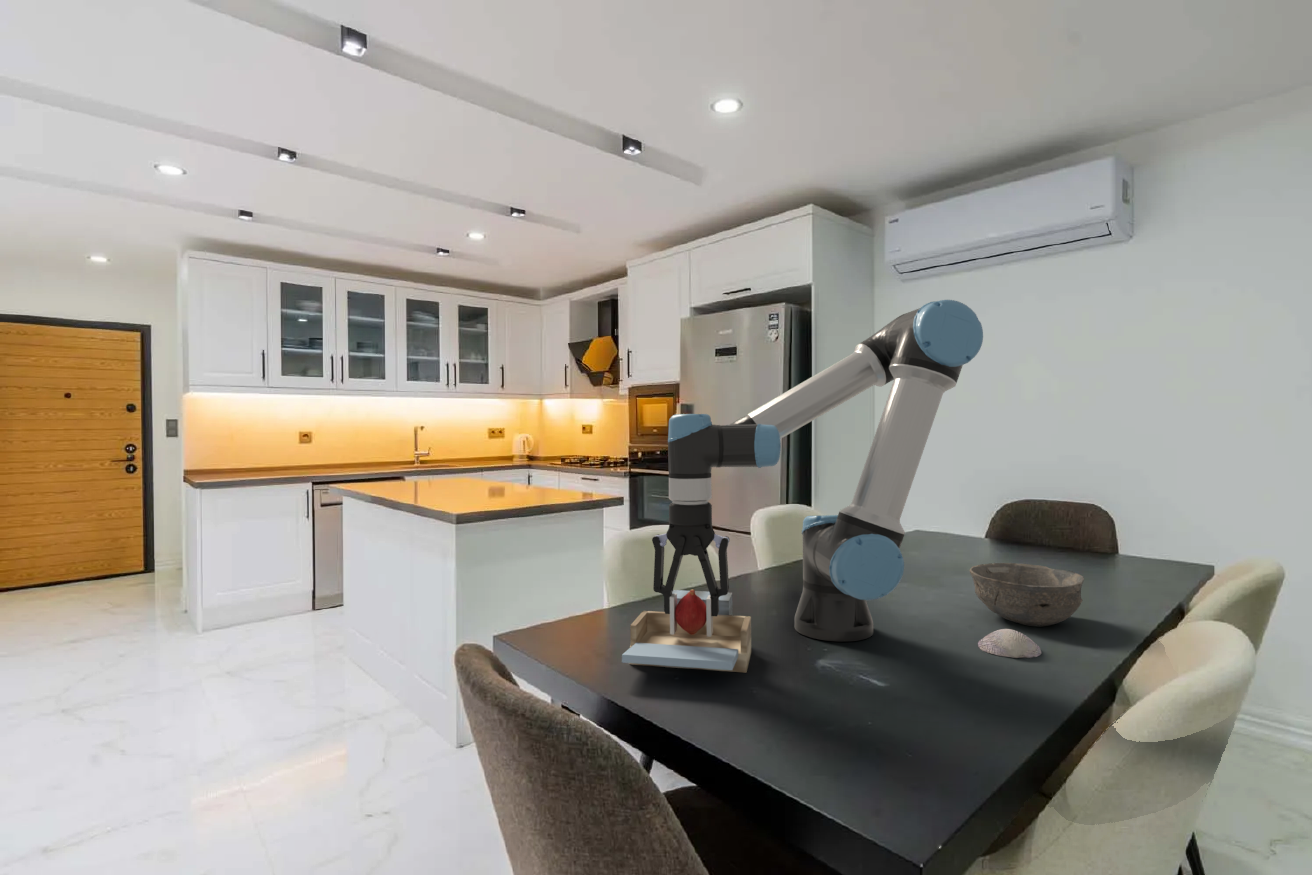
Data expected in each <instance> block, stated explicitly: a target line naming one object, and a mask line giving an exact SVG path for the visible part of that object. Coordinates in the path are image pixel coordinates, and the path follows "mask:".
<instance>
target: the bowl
mask: <svg viewBox="0 0 1312 875" xmlns="http://www.w3.org/2000/svg"><path fill="white" fill-rule="evenodd" d="M969 574H970V576H971V577H972V580H973V585H974V592H975V594H976V597H977V598H978V599H979V600H980V601H981V602H982V604H984V605H985V606H986V608H987V609H989V610H990V611H991V612H993V613H994V614H996V615H998V616H999V617H1002V618H1003V619H1005V620H1007V621H1011V622H1012V623H1013V622H1014V623H1017V624H1019V625H1024V626H1028V627H1048V626H1053V625H1055V624H1056V625H1058V624H1059V623H1061V622H1063V621H1065V620H1067V619H1068V618H1071V616H1072V615H1073V614H1074V613H1075V612H1076V611H1078V609H1079V608H1080V606H1081V605H1082V602H1083V599H1082V586H1083V584H1084V581H1085V576H1083V575H1081V574H1079V573H1077V572H1075V571H1073V570H1072V571H1071V570H1066V569H1058V568H1049V567H1048V566H1045V565H1037V564H1028V563H1013V562H993V563H985V564H982V563H981V564H978V565H973V566H972V567H971V568H970V569H969Z"/></svg>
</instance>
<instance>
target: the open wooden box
mask: <svg viewBox="0 0 1312 875" xmlns="http://www.w3.org/2000/svg"><path fill="white" fill-rule="evenodd" d="M688 592H690V590H684V589H683V590H681V589H673V592H672V594H677V604H678V602H679V601H680V600H681V598H682V597H684V596H685V595H686V594H687V593H688ZM695 595H697V596H698V597H700V598H701V599H702V600H703V602H704V603H705V604H706V599H707V597H708V595H710V592H709V591H706V590H705V591H704V590H702V591H701V590H695ZM629 628H630V629H629V630H630V640H629V641H630V646H629V648H630V647H632V646H633V645H634V644H635V643H650V644H665V645H681V646H697V647H713V648H728V649H738V658H737V661H736V663H735V665H734V668H733V670H721V669H707V668H687V669H688V670H689V669H690V670H691V669H692V670H704V671H719V672H734V673H735V672H736V673H748V672H747V671H748V668H749V663H750V660H751V655H752V616H749V615H733V592H729V591H728V593H727V595H723V596H720V597H719V613H718V615H717V616H713V633H712V636H711V637H707V621H706V623H705V625H704V626H703V627H702V628H701V629H700V630H699V631H697V633H695V634H694V635H691V634H689V633H688V632H686V631H685V630H683V629H682V628H681V627H680V626H679V625H678V623H677V631H676V633H675V634H670V614H665V612H664V611H654V610H653V611H652V610H642V611H641V612H640V614H639V615H638V616H637V617H636V618H635V620H634V621H633V622H632V623H630V627H629ZM629 648H628V649H629ZM629 665H635V666H648V667H662V668H664V667H665V668H669V667H668V666H662V665H651V664H637V663H629ZM674 668H677V669H683V668H682V667H673V669H674Z"/></svg>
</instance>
